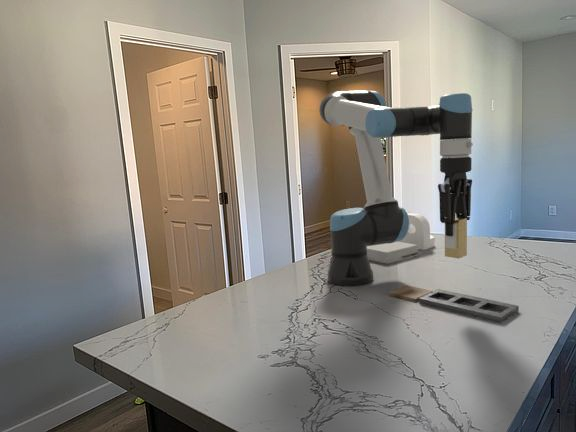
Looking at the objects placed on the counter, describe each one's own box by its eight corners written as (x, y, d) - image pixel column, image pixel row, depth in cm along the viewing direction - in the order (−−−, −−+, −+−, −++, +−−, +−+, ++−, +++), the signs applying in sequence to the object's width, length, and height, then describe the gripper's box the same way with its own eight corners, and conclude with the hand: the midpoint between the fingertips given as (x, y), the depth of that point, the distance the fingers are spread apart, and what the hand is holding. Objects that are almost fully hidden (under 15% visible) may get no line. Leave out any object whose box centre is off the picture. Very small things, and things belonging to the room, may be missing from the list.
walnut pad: (388, 295, 129) (388, 292, 129) (406, 287, 135) (406, 285, 134) (415, 301, 122) (415, 299, 122) (433, 293, 128) (433, 290, 128)
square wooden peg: (444, 256, 116) (444, 219, 115) (452, 253, 119) (452, 216, 117) (459, 258, 113) (459, 220, 112) (466, 255, 116) (466, 217, 114)
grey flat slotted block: (419, 303, 121) (419, 298, 120) (438, 294, 127) (438, 289, 127) (501, 323, 104) (501, 317, 104) (518, 311, 110) (518, 305, 110)
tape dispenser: (424, 250, 181) (423, 216, 179) (388, 244, 195) (387, 213, 193) (439, 244, 189) (439, 212, 187) (404, 240, 202) (403, 209, 200)
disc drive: (376, 248, 192) (376, 237, 191) (418, 256, 173) (417, 244, 173) (346, 255, 182) (345, 243, 182) (386, 265, 164) (386, 252, 163)
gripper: (452, 158, 104) (452, 254, 107) (485, 154, 115) (484, 241, 118) (424, 159, 109) (425, 250, 113) (458, 154, 120) (458, 238, 124)
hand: (455, 245), depth 116 cm, fingers closed on square wooden peg, 4 cm apart
